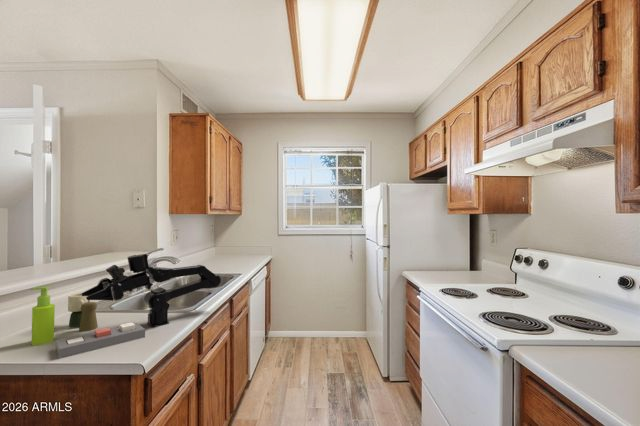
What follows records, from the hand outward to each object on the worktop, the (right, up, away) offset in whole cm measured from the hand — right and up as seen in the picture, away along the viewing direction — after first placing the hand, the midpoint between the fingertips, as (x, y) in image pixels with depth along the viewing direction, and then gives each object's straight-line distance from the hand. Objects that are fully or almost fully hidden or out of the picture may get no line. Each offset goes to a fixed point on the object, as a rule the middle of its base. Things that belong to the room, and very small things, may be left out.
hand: (84, 296), depth 108 cm
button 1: (+4, -15, -9) cm, 18 cm away
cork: (-7, -17, +11) cm, 21 cm away
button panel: (+9, -16, -3) cm, 19 cm away
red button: (+9, -14, -3) cm, 17 cm away
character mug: (-15, -17, +16) cm, 27 cm away
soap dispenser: (-14, -16, -2) cm, 21 cm away
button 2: (+14, -14, +2) cm, 20 cm away
